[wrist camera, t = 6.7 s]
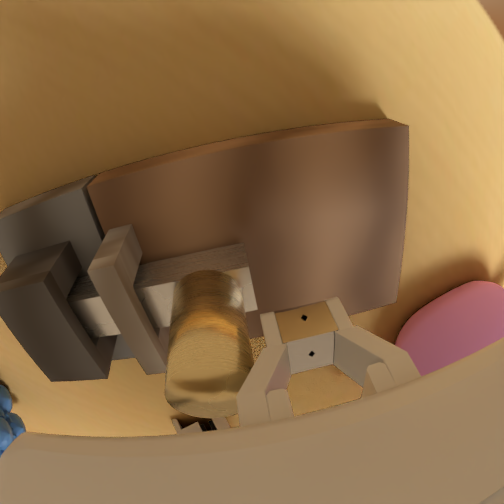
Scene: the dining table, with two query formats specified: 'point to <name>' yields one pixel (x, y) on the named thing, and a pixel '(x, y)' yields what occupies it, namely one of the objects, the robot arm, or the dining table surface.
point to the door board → (209, 236)
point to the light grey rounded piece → (202, 426)
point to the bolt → (190, 324)
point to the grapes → (8, 421)
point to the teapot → (454, 326)
